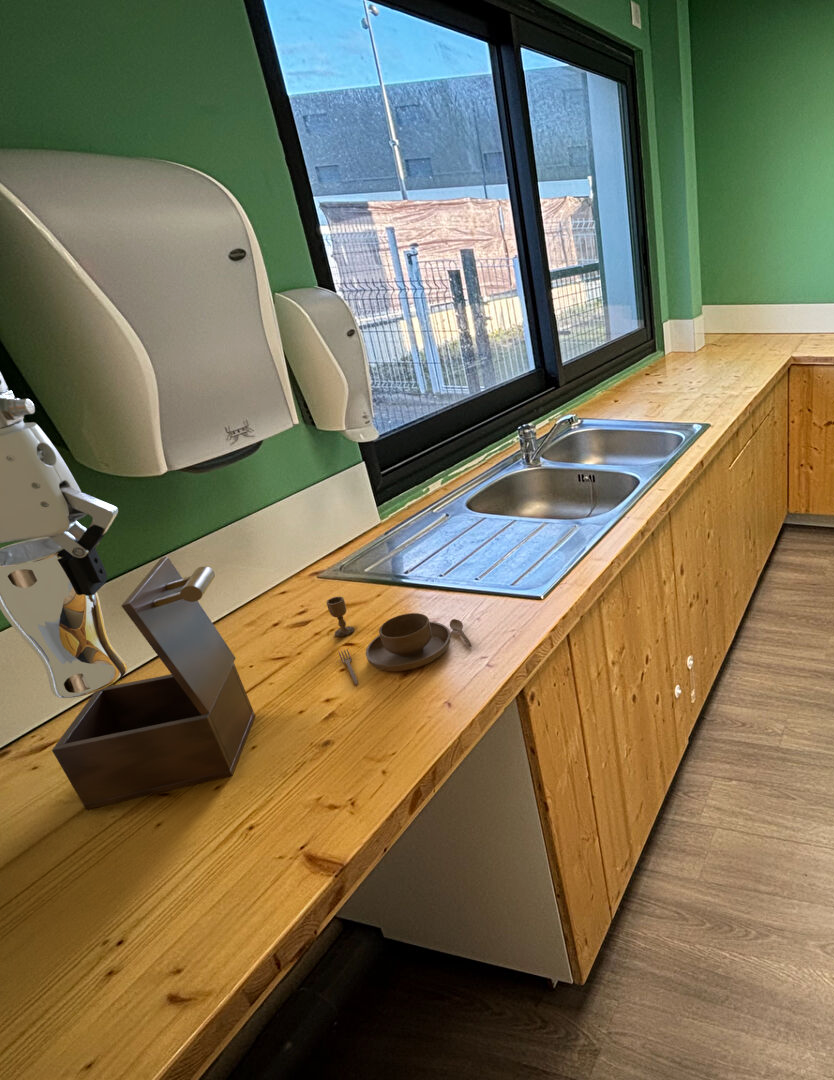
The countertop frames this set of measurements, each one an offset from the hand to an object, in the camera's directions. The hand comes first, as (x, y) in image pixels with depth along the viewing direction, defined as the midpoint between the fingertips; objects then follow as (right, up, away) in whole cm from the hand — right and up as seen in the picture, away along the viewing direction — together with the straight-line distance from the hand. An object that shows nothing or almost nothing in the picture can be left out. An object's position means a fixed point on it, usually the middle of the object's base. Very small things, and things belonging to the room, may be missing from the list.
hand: (48, 594), depth 68 cm
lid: (+3, -6, +13) cm, 14 cm away
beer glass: (0, -9, +4) cm, 10 cm away
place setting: (+16, -11, +41) cm, 45 cm away
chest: (-2, -22, +18) cm, 28 cm away
